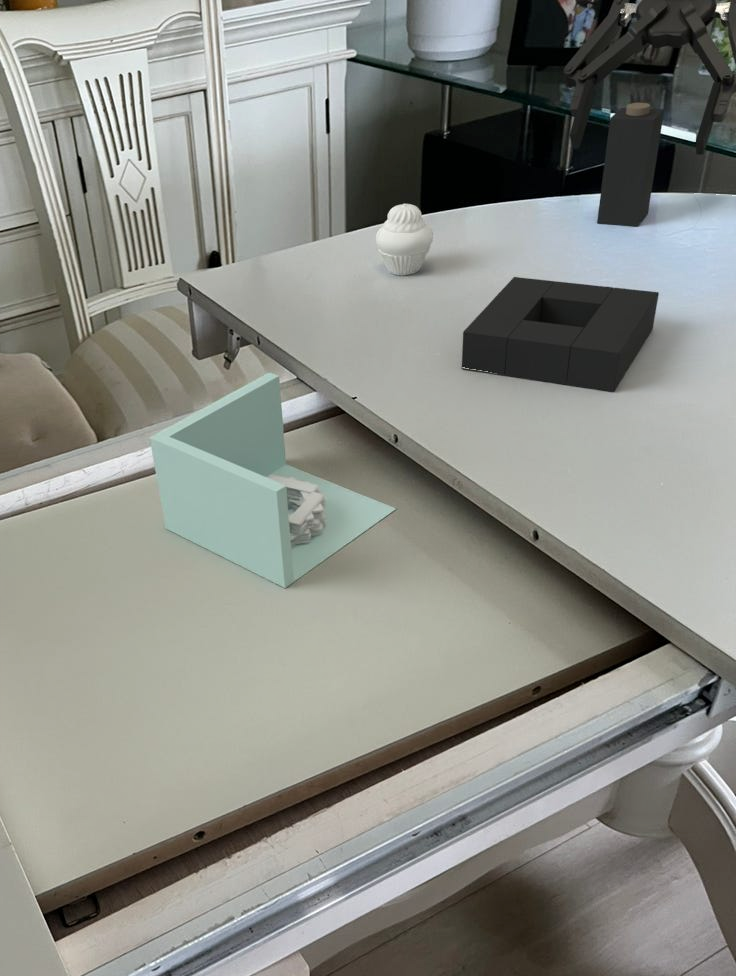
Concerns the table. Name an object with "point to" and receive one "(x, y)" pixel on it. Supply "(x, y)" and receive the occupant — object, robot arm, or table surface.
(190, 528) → the right angle wall
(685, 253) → the table surface
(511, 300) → the base pad
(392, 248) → the muffin
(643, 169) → the pad post
